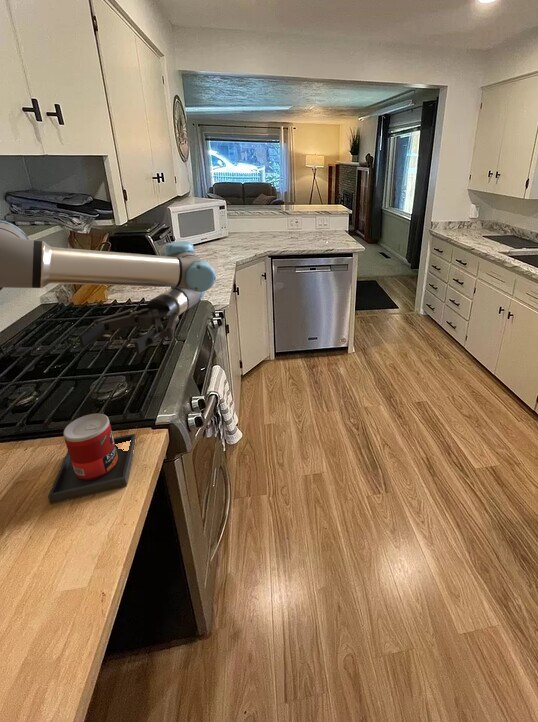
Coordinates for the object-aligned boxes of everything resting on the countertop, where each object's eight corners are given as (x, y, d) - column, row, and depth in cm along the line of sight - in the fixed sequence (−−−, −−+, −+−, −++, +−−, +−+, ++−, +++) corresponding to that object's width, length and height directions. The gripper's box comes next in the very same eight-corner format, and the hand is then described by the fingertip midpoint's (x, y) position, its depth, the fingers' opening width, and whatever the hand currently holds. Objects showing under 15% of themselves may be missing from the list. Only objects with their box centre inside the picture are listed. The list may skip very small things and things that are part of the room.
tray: (50, 504, 69) (47, 496, 68) (71, 453, 80) (69, 446, 80) (126, 486, 73) (125, 478, 72) (136, 440, 84) (135, 433, 84)
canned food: (116, 475, 74) (105, 433, 71) (71, 487, 72) (57, 443, 68) (121, 449, 81) (111, 409, 77) (80, 459, 78) (68, 418, 74)
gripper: (210, 323, 96) (163, 365, 76) (127, 316, 100) (62, 354, 80) (207, 297, 93) (158, 334, 74) (123, 290, 97) (54, 323, 78)
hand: (108, 344), depth 77 cm, fingers open, 13 cm apart
